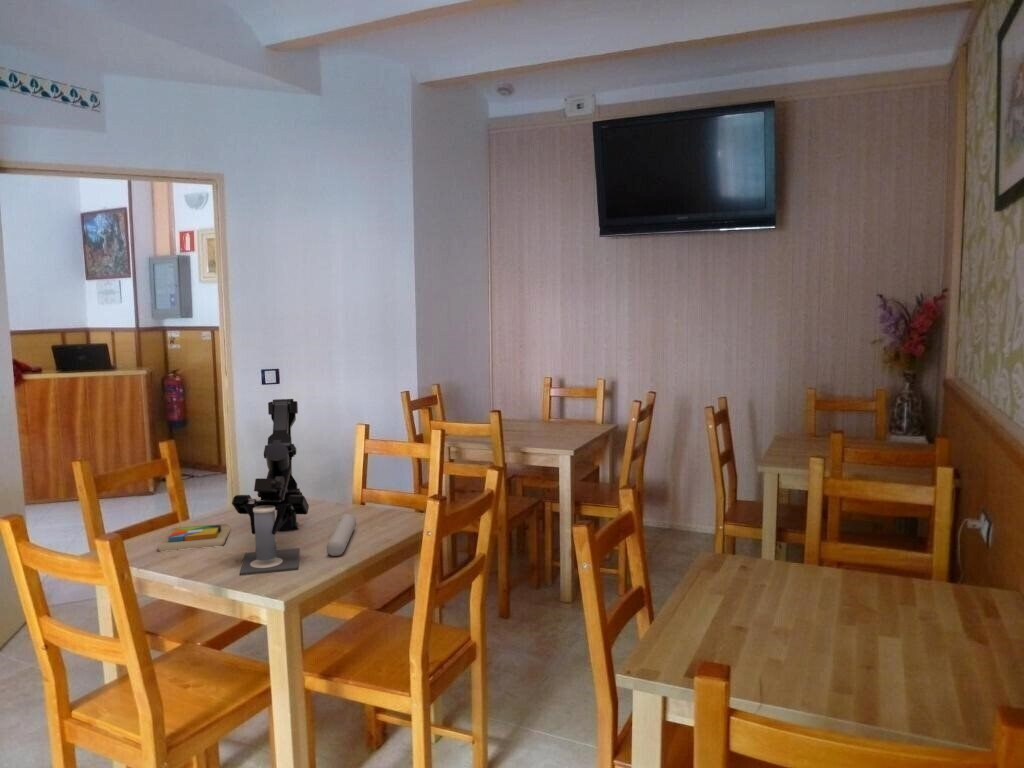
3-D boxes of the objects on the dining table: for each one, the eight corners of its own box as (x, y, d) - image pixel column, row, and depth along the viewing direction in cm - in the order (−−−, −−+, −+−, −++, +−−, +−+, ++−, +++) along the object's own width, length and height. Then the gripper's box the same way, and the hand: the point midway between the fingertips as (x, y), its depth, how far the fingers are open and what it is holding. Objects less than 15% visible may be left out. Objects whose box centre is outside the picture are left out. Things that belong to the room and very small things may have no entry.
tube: (347, 543, 197) (358, 516, 222) (327, 537, 196) (341, 511, 221) (341, 562, 197) (353, 533, 222) (321, 556, 197) (336, 528, 221)
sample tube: (256, 554, 193) (253, 505, 192) (277, 552, 195) (275, 504, 193) (254, 561, 188) (252, 511, 187) (276, 559, 190) (274, 509, 188)
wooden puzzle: (231, 529, 226) (231, 518, 225) (224, 548, 207) (224, 536, 207) (169, 534, 221) (168, 522, 221) (156, 554, 203) (156, 541, 203)
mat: (245, 555, 200) (245, 552, 200) (299, 550, 203) (299, 547, 203) (239, 575, 184) (239, 572, 184) (298, 569, 188) (298, 566, 188)
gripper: (232, 464, 194) (216, 518, 184) (303, 464, 193) (290, 518, 183) (246, 487, 202) (231, 539, 192) (314, 487, 201) (302, 539, 191)
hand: (263, 533), depth 190 cm, fingers closed on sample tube, 5 cm apart
